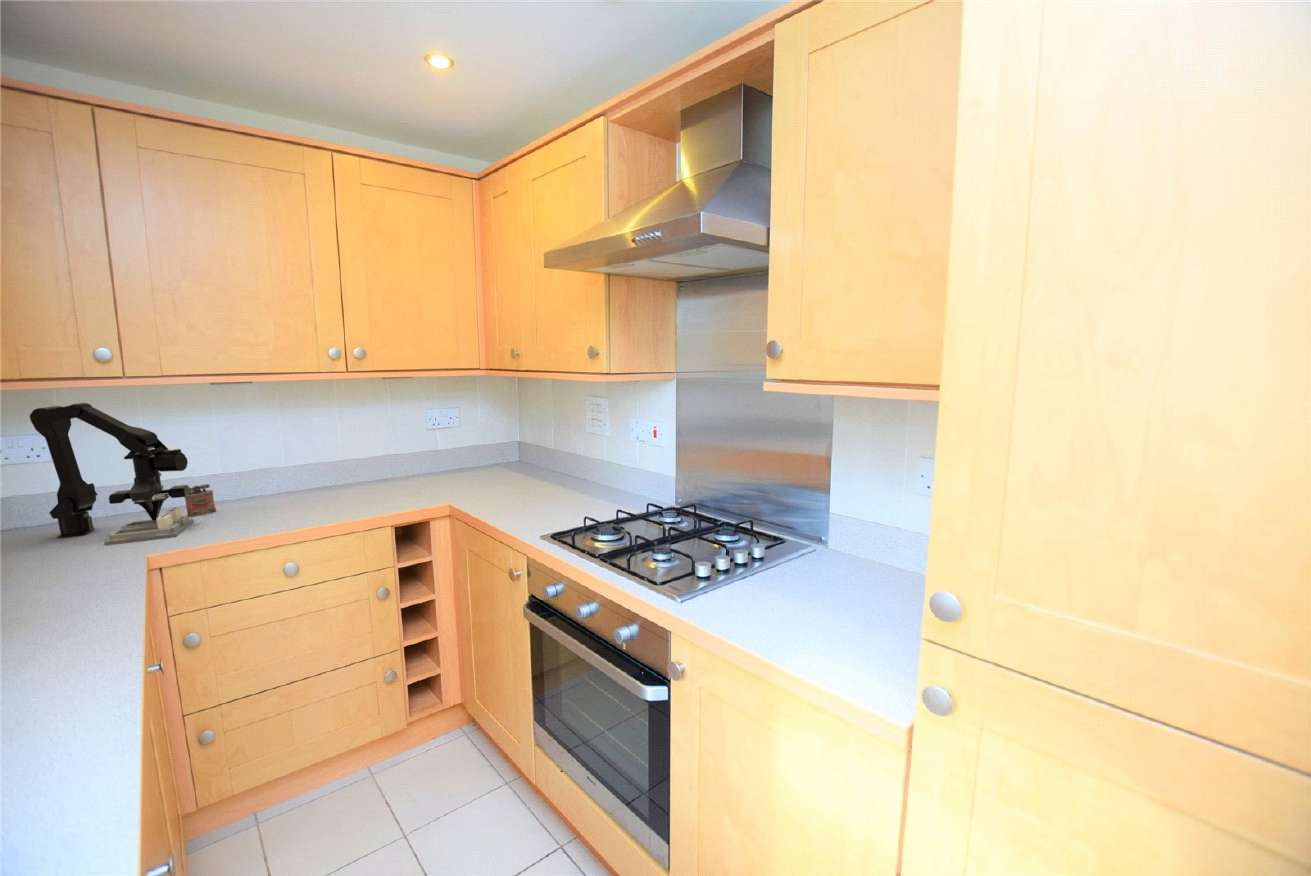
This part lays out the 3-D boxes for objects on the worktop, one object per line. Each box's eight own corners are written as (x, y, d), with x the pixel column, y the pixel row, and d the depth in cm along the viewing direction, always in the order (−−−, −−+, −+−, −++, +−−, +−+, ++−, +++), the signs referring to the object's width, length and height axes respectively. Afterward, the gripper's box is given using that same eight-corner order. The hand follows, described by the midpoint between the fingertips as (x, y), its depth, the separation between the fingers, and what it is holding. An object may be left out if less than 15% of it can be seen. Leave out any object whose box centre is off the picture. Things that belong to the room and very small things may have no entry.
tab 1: (158, 533, 177) (156, 518, 177) (163, 529, 181) (161, 514, 180) (169, 532, 178) (166, 517, 178) (173, 528, 182) (171, 513, 181)
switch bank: (104, 545, 171) (103, 537, 171) (128, 529, 186) (127, 521, 185) (176, 536, 178) (175, 528, 177) (194, 521, 192) (192, 514, 192)
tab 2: (168, 525, 185) (165, 511, 184) (172, 522, 188) (170, 507, 188) (177, 524, 186) (175, 510, 185) (182, 520, 189) (180, 506, 188)
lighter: (189, 517, 197) (184, 488, 195) (186, 515, 199) (181, 487, 197) (217, 511, 203) (213, 483, 202) (214, 510, 205) (210, 482, 204)
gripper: (96, 481, 171) (105, 532, 174) (174, 474, 178) (182, 524, 181) (113, 473, 182) (122, 521, 184) (187, 467, 189) (194, 514, 191)
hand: (155, 520), depth 185 cm, fingers closed
